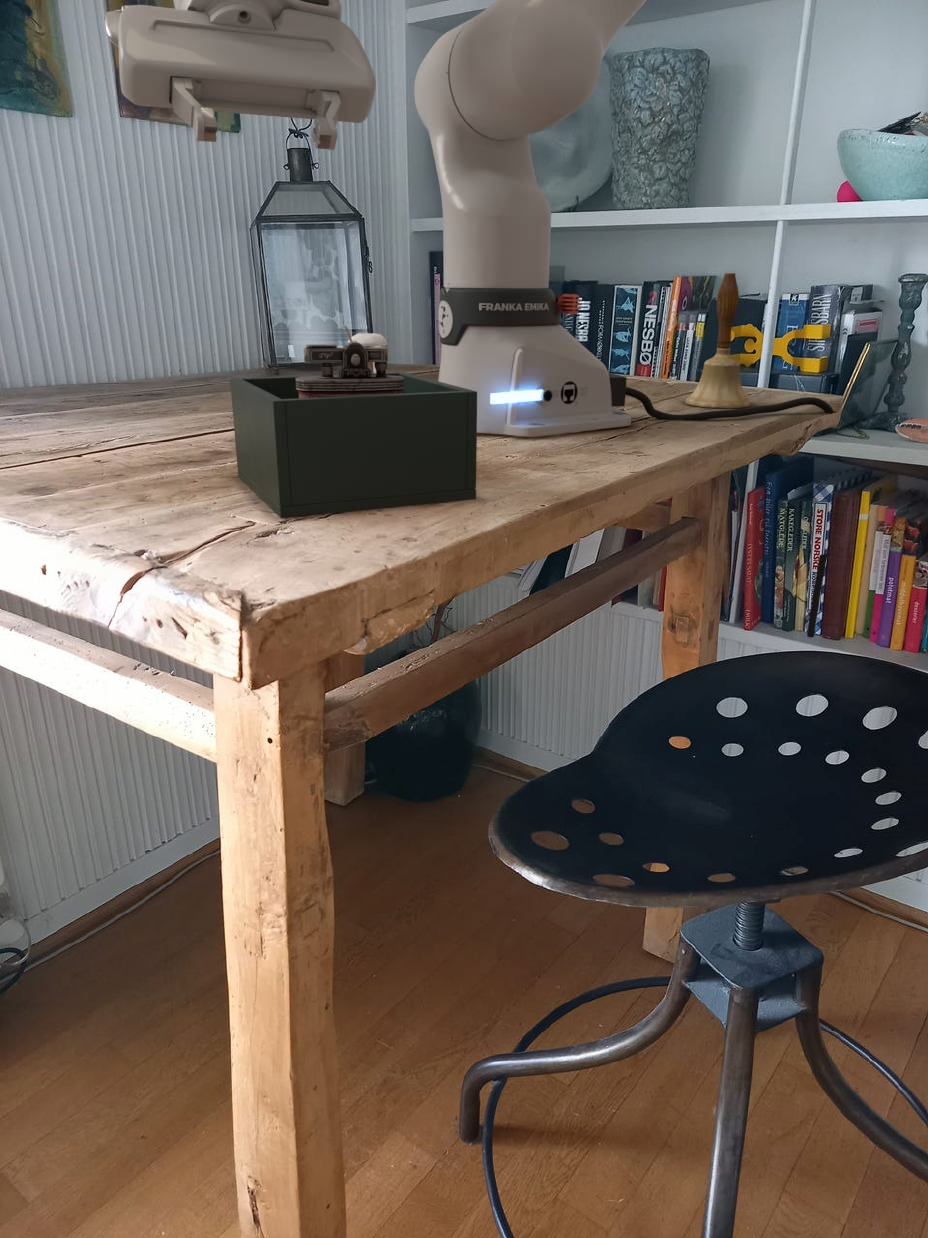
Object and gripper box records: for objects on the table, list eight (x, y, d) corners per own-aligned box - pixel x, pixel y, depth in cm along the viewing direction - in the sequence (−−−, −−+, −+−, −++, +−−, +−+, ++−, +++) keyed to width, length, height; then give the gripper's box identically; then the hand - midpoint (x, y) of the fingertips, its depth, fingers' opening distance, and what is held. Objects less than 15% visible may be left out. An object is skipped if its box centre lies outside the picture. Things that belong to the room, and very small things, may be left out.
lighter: (402, 470, 72) (400, 340, 68) (408, 479, 69) (406, 343, 65) (300, 474, 71) (293, 340, 67) (301, 483, 68) (293, 344, 64)
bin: (405, 463, 79) (404, 371, 76) (476, 499, 67) (477, 391, 64) (238, 476, 73) (229, 378, 71) (280, 518, 61) (272, 401, 58)
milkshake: (337, 412, 108) (333, 324, 104) (373, 408, 111) (371, 323, 107) (359, 417, 104) (357, 326, 101) (396, 412, 108) (394, 325, 104)
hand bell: (740, 410, 112) (756, 273, 106) (676, 405, 116) (688, 272, 110) (758, 403, 119) (773, 273, 113) (696, 398, 123) (708, 272, 117)
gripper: (98, -37, 68) (127, 88, 64) (356, -2, 76) (399, 111, 72) (102, 44, 74) (129, 165, 69) (342, 68, 82) (381, 178, 77)
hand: (268, 138), depth 70 cm, fingers open, 8 cm apart
